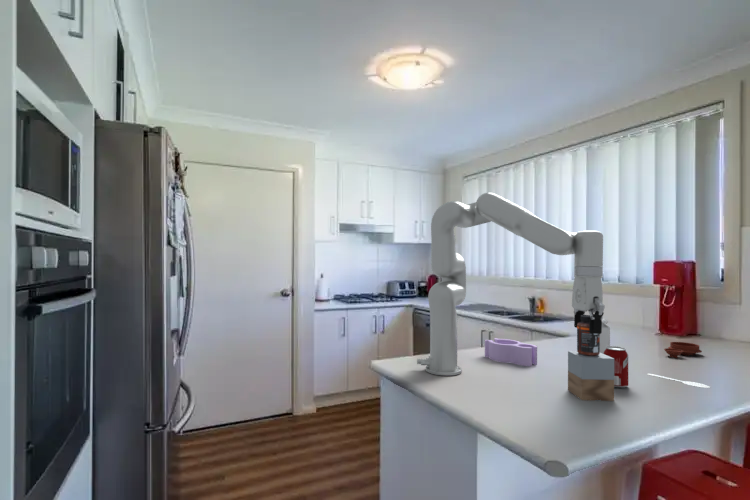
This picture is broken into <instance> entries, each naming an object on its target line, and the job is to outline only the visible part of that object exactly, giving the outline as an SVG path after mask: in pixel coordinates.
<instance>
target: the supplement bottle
mask: <svg viewBox="0 0 750 500" xmlns="http://www.w3.org/2000/svg"><path fill="white" fill-rule="evenodd" d="M589 319H591V317H590V314H583V315H581V322H579V323H578V324H577V328H576V346H577V347H576V349H577V350H576V351H577V352H578V353H579V354H582V355H587V356H597V355H599V354H600V334H591V333H589Z"/></svg>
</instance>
